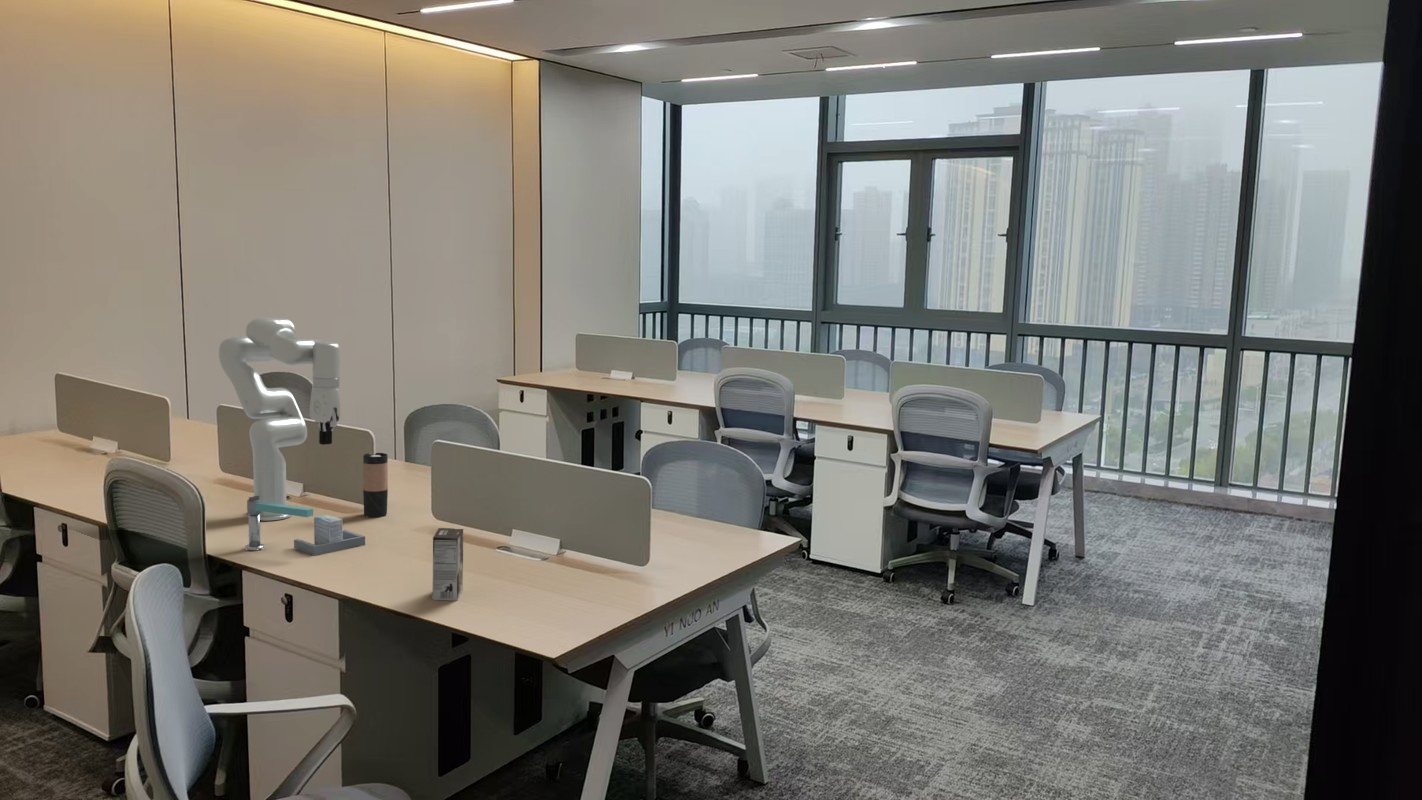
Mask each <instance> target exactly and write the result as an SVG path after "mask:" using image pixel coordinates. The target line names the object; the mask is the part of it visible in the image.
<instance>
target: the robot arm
mask: <svg viewBox="0 0 1422 800" xmlns="http://www.w3.org/2000/svg"><path fill="white" fill-rule="evenodd" d="M245 327H246V328H245V333H246V334H245V335H234V336H230V337H227V338H225V339H224V340H222V341H221V342H220V345H219V346H218V347H219V348H218V359H219V363H220V366H221V368H222V370H223V371H224V373H225V374H226V376H227V377H228V379H229V381H230V382H231V383H232V386H233V388H234V390H235V392H236V396H237V398H238V400H239V402H240V405H241V407H242V410H243V411H244V413H245V414H246V417H248V418H249V419H251V420H252V419H253V420H256V421H255V422H253V423H252V424H251V425H250V427H249V431H248V434H249V441H250V446H251V450H252V467H253V496H259V499H260V500H261V502H267V503H275V504H283V505H287V462H286V458H285V456H284V454H283V453H282V452H281V451H280V449H279V448H284V447H291V446H292V447H293V446H299V445H301V444H303V443H304V442H305V441H306V440H307V438H308V427H307V424H306V421H305V419H304V417H303V413H302V412H301V409H300V407H299V405H298V403H297V401H296V398H295V397H294V395H293V393H292V392H291V391H290V390H289V389H287V388H284V387H266V385H265V383H264V382H263V379H262V377H261V375H260V374H259V372H257V371H256V369H254V368H253V367H252V366H251V365H249V364H247V363H250V362H251V363H252V362H255V363H256V362H269V361H272V360H276V361H278V362H281V363H282V364H286V365H291V366H297V365H312V388H311V393H310V401H309V417H310V419H311V420H313V421H314V422H315V423H317V425H318V426H317V429H318V431H319V432H318V433H319V434H318V435H319V436H318V437H319V438H318V443H319V444H320V445H323V446H324V445H331V444H332V443H333V431H334V427H335V428H336V427H337V426H338V422H339V421H340V418H341V400H340V399H341V398H340V373H341V372H340V371H341V370H340V365H341V363H340V362H341V361H340V358H341V356H340V355H341V350H340V349H341V347H340V344H339V343H337V342H334V341H327V340H325V339H322V338H299V339H296V327H295V325H294V323H293V322H292V321H291V320H290V319H288V318H286V317H258V318H255V319H252V320H251V321H249V322H248V323H247V325H246V326H245ZM291 516H292V515H286V514H279V513H271V512H263V511H261V513H260V520H261V521H262V522H265V521H266V522H267V521H268V522H269V521H278V520H279V521H280V520H284V519H288V518H290V517H291ZM261 521H260V522H261Z"/></svg>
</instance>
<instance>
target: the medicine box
mask: <svg viewBox="0 0 1422 800" xmlns="http://www.w3.org/2000/svg"><path fill="white" fill-rule="evenodd" d="M313 527H314V528H313V530H314V531H313V532H314V533H313V537H314V538H313V539H314V540H313V541H314V543H313V544H314V545H320V544H325V543H330V542H335V541H340V540H344V539H343V530H344V529H343V519H342V518H339V517H337V516H336V517H335V516H333V515H329V514H325V515H317V516H315V517H314V518H313Z"/></svg>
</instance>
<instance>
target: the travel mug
mask: <svg viewBox="0 0 1422 800" xmlns="http://www.w3.org/2000/svg"><path fill="white" fill-rule="evenodd" d="M388 457H389V456H388V454H387V453H384V452H376V453H375V454H370V453H364V454H363V457H362V458H363V459H362V460H363V461H362V462H363V466H362V467H363V470H362V474H363V477H362V482H363V483H362V494H363V495H362V496H363V497H362V498H363V515H365V516H364V517H366V516H368V517H367V518H381V517H380V516H383V517H385V516H384V515H386V514H387V515H388V491H389V490H388V489H389V488H388V487H389V481H388V479H389V478H388V474H389V473H388V471H389V469H388V467H389V465H388V462H389V461H388ZM387 515H386V516H387Z"/></svg>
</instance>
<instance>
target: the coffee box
mask: <svg viewBox="0 0 1422 800" xmlns="http://www.w3.org/2000/svg"><path fill="white" fill-rule="evenodd" d="M463 589H464V528H452V527H451V528H450V527H440V528H438V529H437V531H436V532H435V534H434V536H432V601H458V599H460V595H461V594H462V591H463Z"/></svg>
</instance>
